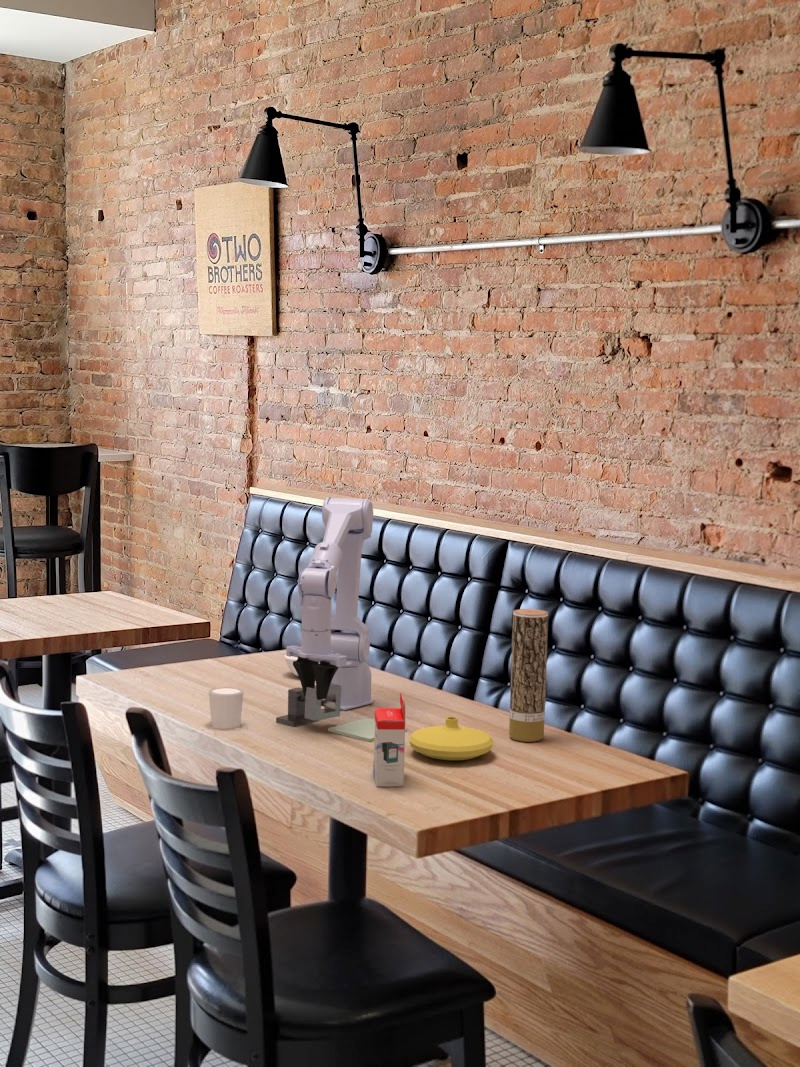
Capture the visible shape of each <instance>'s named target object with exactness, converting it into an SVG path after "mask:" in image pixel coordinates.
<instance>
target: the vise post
mask: <svg viewBox="0 0 800 1067" xmlns="http://www.w3.org/2000/svg"><path fill="white" fill-rule="evenodd" d="M287 691H288V692H287V714H285V715H282V716H277V717H276V718H275V723H277V724H281V725H284V726H289V727H293V728H295V727H300V726H303V725H306V724H311V723H315V722H318V721H319V720H317V721H314V720H310V719H307V718H304V717H305V698H306V697H305V696H304V694H303V689H302V687H299V686H298V687H293V688H289V689H288V690H287ZM324 700H325V699H322V700H321V707H327V708H332V709H336V707H337V704H336V703H333V702H329V701H324Z"/></svg>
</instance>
